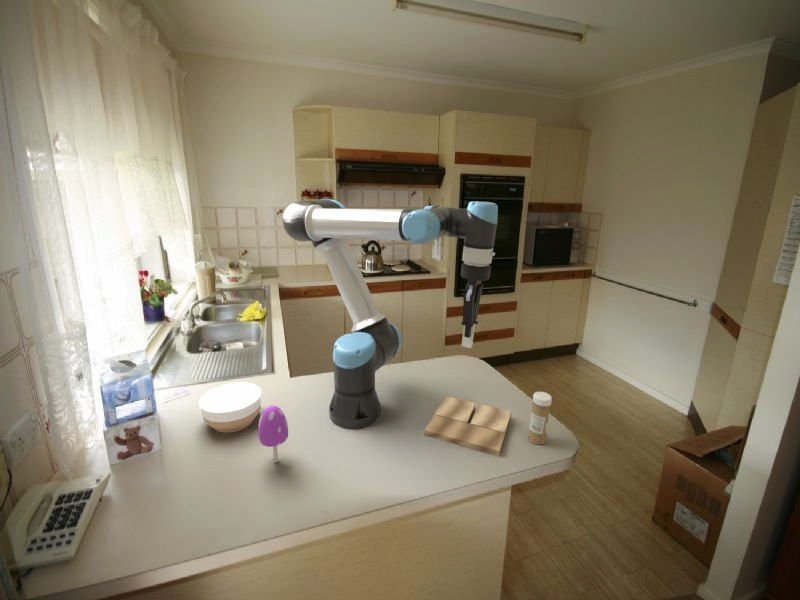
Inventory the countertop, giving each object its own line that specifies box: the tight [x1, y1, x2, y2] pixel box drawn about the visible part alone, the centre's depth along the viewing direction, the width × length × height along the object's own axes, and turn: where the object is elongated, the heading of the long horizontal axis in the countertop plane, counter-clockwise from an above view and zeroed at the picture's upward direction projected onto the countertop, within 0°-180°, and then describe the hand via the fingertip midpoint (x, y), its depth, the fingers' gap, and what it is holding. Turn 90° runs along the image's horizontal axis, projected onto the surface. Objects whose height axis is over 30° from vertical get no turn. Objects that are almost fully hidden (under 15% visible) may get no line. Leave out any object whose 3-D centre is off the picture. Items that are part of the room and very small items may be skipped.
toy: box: [257, 404, 289, 464], centre depth 92 cm, size 7×7×15 cm
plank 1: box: [433, 395, 476, 424], centre depth 115 cm, size 10×10×1 cm
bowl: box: [198, 381, 262, 434], centre depth 109 cm, size 16×16×8 cm
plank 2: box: [469, 403, 512, 434], centre depth 111 cm, size 10×10×1 cm
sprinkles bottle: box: [527, 391, 553, 446], centre depth 102 cm, size 5×5×13 cm
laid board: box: [423, 414, 506, 457], centre depth 105 cm, size 20×10×2 cm, turn 66°
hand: (466, 346), depth 108 cm, fingers closed
